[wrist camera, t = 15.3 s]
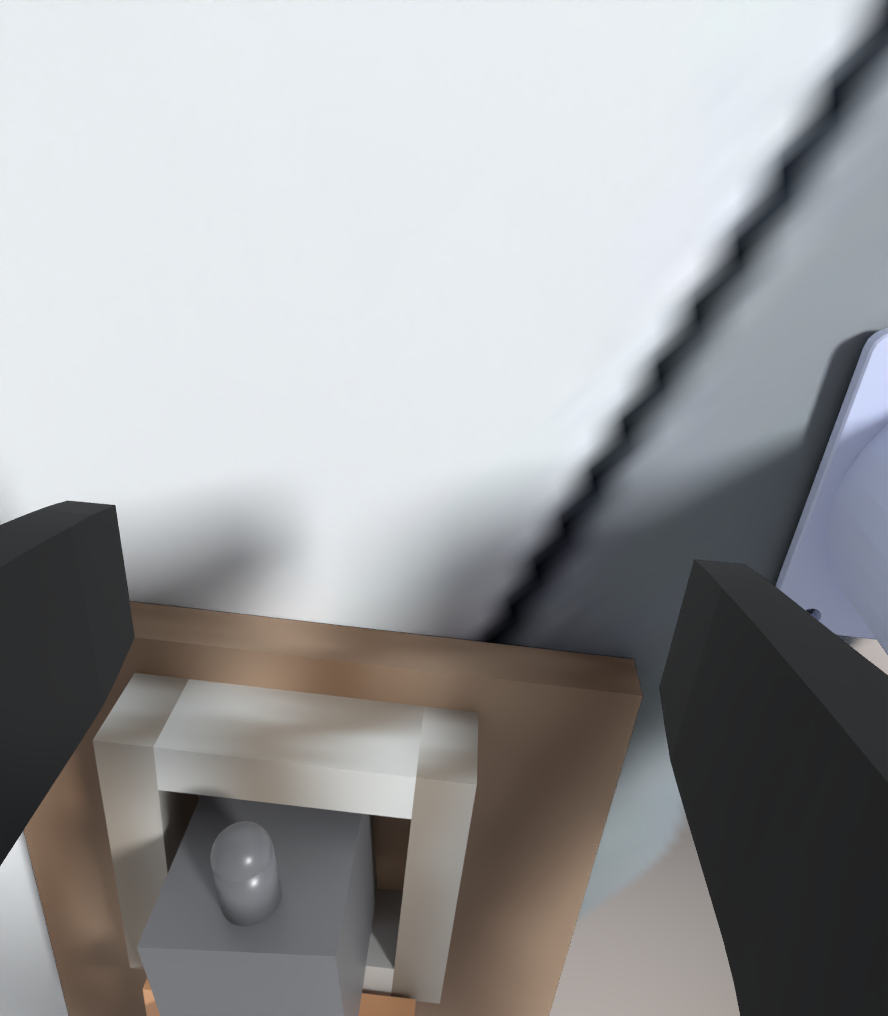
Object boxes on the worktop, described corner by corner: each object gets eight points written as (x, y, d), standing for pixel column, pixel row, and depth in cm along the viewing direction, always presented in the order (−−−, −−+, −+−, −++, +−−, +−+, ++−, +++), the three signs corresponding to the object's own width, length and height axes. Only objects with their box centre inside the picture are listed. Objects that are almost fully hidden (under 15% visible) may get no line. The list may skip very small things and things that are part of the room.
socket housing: (633, 659, 22) (660, 768, 18) (531, 1028, 31) (536, 1148, 27) (3, 587, 22) (-91, 681, 18) (87, 976, 31) (34, 1090, 27)
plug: (367, 697, 21) (326, 890, 16) (381, 860, 24) (351, 1065, 19) (205, 693, 21) (114, 881, 16) (241, 855, 24) (174, 1056, 19)
